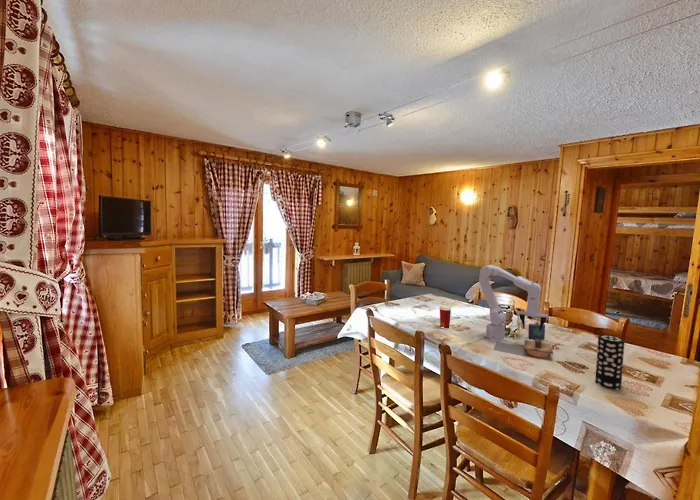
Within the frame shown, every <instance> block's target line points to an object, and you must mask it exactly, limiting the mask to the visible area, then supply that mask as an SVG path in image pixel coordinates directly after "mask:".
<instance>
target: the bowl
mask: <svg viewBox="0 0 700 500" xmlns="http://www.w3.org/2000/svg"><path fill="white" fill-rule="evenodd" d="M526 350H527V349H526ZM526 352H527V354H528V355H530V356H532V357H536V358H545V359H546V358H548V357H549V353H544V352H538V351H532V350H527V351H526Z"/></svg>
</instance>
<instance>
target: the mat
mask: <svg viewBox="0 0 700 500" xmlns="http://www.w3.org/2000/svg"><path fill="white" fill-rule="evenodd" d="M525 350H526V349H525V346H523V345H522V346H521V345H518V344H513V343H512V344H511V343H506V342H502V341H495V345H494V348H493V351H497V352H502V353H506V354H511V355H516V356H521V357H524V356H525Z"/></svg>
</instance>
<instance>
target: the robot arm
mask: <svg viewBox="0 0 700 500" xmlns="http://www.w3.org/2000/svg"><path fill="white" fill-rule="evenodd" d="M493 276H499V277H502V278H503V279H506V280H508V281H511V282H512V283H513V285H515V286H516V287H518V288H520V289H522V290H523V291H526V292H527V300H526V301H527V305H526V311H525V310H524V311H521V310H517V313H516V314H517V316H519V319H520V321H521V324H522V329H523V330H524V329H526V327H525V326H526V323H525V322H526V321H525V320H526V317H530V318H531V317H532V318H539V319H540V320H539V322H540V323H539V324H540V329H539V331H540V332H541V329H542V326H543V324H545V323H546V320H549V314H544V313H540V304H541V298H540V297H541V295H540V294H541V293H540V292H541V291H542V286H541V285H540V284H539V283H538V282H534V281H533V280H529V279H527V278H525V276H520V275H519V276H515V275H514V274H512V273H510V272H508V271H507V270H504V269H503V268H501V267H500V266H497V265H494V264H488V265H484V266H482V267H481V269H480V270H479V277H478V282H479V285H480V287H481V290H482V293H483V295H484V298H485V300H486V303H487V306H488V307H489V316H490V318H489V319H490V320H489V321H490V322H491V323H487V324H486V327H485V328H486V329H485V330H486V331H485V332H486V333H485V337H486V338H487V339H489V340H490V341H491V342H502V341H503V342H508V339H506V338H505V336H506V335H505V332H506V331H505V329H506V324H505V322H506V320H507V315H506V313H505V312H504V311H503V309H502V308H501V307H500V305H499V303H498V301H497V298H496V295H495V293H494V291H493V288H492V285H491V283H490V280H491V279H492V277H493Z"/></svg>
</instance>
